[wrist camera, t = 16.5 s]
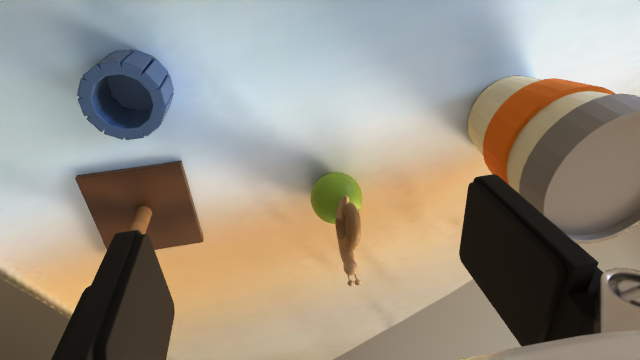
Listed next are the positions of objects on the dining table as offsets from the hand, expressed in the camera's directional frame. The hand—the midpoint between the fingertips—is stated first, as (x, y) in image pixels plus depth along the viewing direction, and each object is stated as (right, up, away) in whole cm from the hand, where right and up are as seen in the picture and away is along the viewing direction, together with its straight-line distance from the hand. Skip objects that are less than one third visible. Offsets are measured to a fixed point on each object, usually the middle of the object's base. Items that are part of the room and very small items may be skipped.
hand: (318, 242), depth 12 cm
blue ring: (-17, +10, +24) cm, 31 cm away
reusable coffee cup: (+20, +9, +32) cm, 39 cm away
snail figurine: (+1, +1, +33) cm, 33 cm away
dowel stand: (-18, -1, +30) cm, 35 cm away
